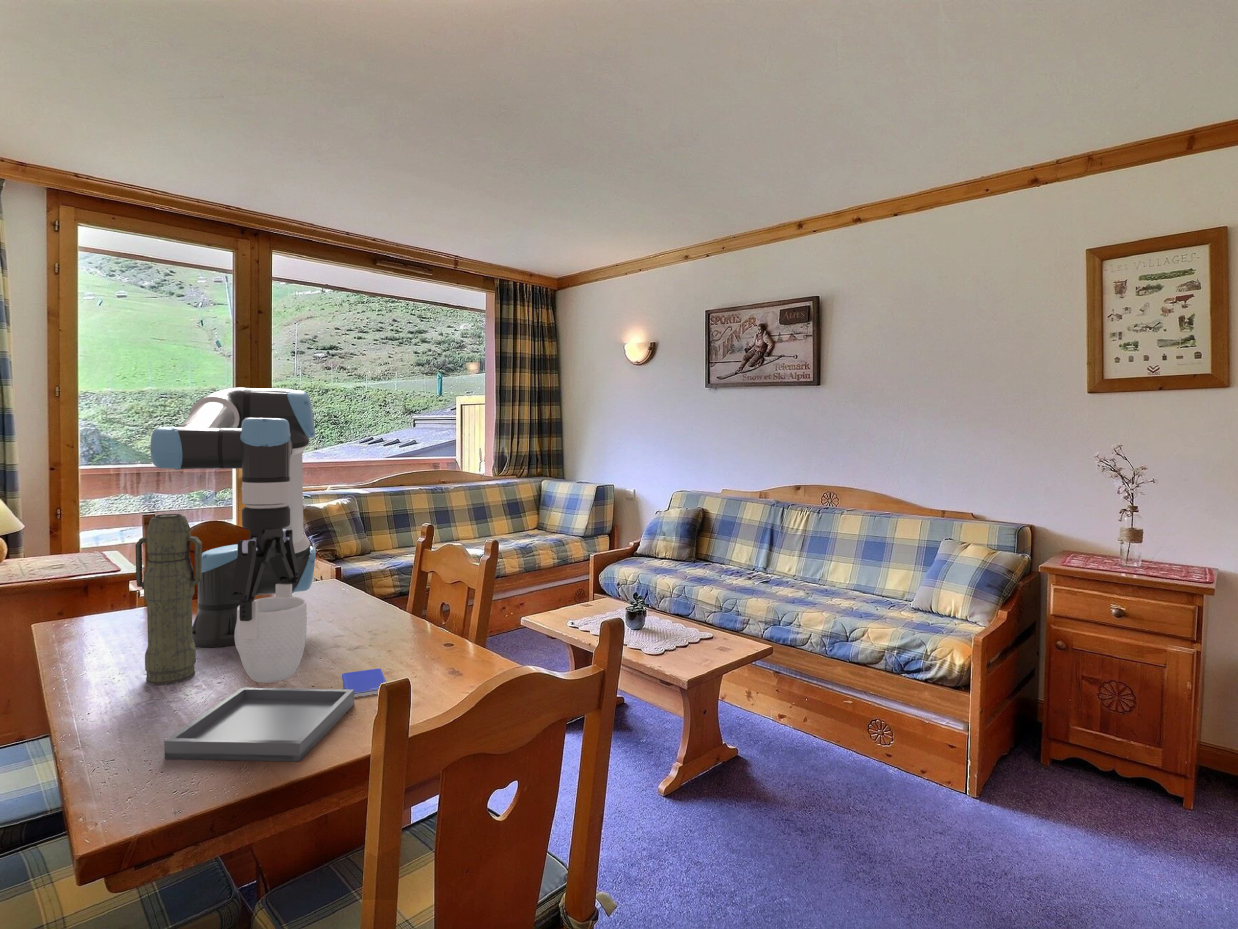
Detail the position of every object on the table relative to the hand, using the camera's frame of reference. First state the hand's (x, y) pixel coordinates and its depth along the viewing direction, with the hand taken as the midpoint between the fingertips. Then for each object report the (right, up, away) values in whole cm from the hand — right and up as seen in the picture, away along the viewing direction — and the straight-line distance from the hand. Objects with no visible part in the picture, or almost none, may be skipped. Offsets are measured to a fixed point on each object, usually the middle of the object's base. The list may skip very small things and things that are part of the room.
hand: (267, 628), depth 116 cm
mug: (0, -9, +1) cm, 9 cm away
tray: (0, -18, +1) cm, 18 cm away
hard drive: (+9, -18, +22) cm, 30 cm away
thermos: (-34, -17, +24) cm, 44 cm away
